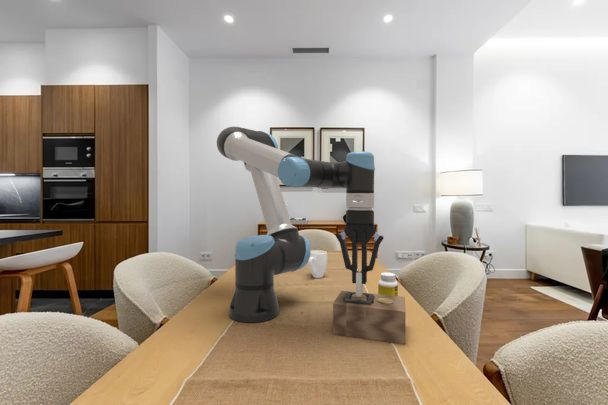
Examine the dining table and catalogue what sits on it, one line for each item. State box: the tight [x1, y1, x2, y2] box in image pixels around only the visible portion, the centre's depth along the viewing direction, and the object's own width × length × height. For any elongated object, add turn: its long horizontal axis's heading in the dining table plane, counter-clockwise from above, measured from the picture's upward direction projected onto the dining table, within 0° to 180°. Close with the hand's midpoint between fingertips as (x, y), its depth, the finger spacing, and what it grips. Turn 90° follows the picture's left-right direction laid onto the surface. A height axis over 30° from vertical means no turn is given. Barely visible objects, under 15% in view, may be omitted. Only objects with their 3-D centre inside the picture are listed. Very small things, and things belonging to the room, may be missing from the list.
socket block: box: [332, 290, 407, 345], centre depth 84 cm, size 18×12×9 cm, turn 73°
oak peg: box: [352, 294, 367, 301], centre depth 85 cm, size 4×4×8 cm
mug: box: [307, 249, 328, 279], centre depth 138 cm, size 12×8×11 cm
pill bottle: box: [377, 272, 399, 296], centre depth 101 cm, size 6×6×11 cm
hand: (359, 295), depth 85 cm, fingers closed
